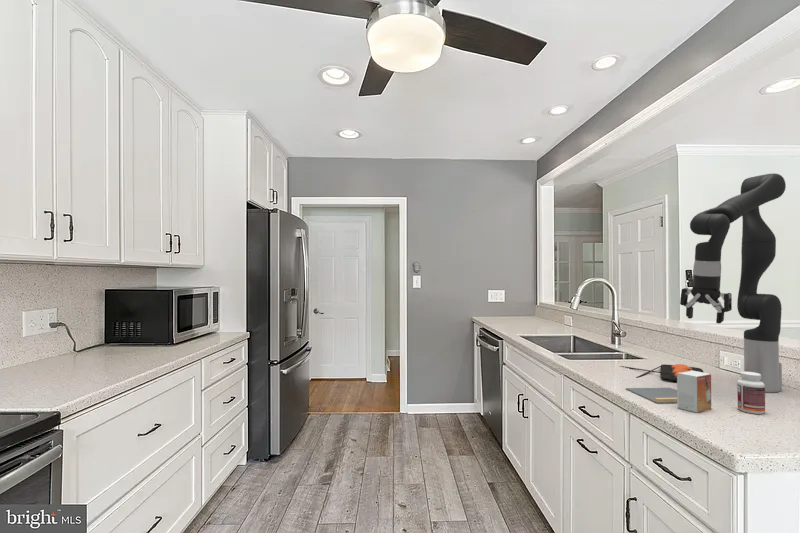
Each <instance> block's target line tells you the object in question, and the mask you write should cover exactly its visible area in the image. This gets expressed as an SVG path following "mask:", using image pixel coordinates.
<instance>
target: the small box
mask: <svg viewBox="0 0 800 533" xmlns="http://www.w3.org/2000/svg"><path fill="white" fill-rule="evenodd" d="M703 372H704V371H703ZM703 372H698V371H692V370H691V371H687V372H681V373H677V382H676V388H677V389H676V390H677V403H676V406H677V408H678V409H682V410H685V411H688V412H693V413H697V414H698V413H702V412H705V411H711V410H712V374H711V373H708V372H704V373H703Z"/></svg>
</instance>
